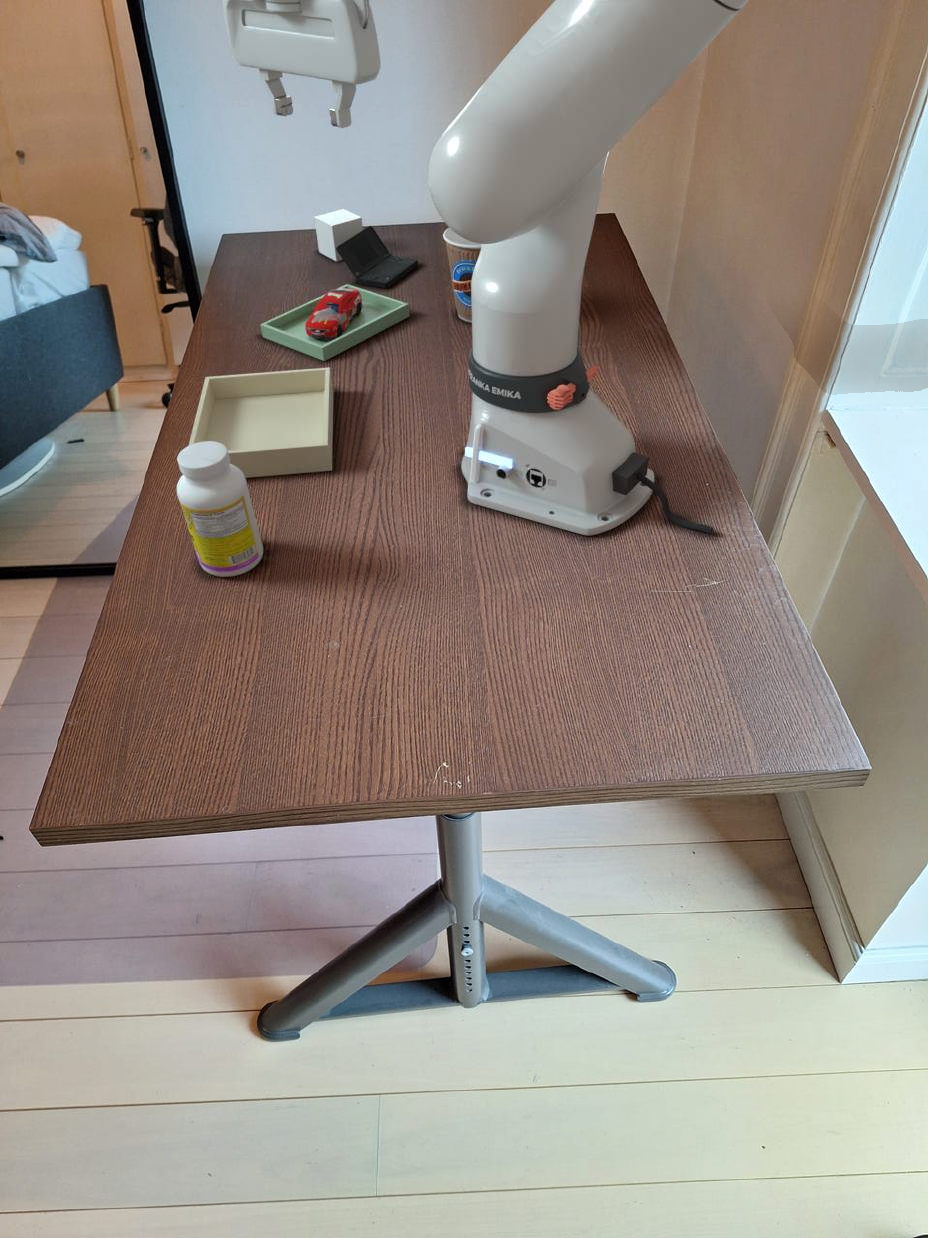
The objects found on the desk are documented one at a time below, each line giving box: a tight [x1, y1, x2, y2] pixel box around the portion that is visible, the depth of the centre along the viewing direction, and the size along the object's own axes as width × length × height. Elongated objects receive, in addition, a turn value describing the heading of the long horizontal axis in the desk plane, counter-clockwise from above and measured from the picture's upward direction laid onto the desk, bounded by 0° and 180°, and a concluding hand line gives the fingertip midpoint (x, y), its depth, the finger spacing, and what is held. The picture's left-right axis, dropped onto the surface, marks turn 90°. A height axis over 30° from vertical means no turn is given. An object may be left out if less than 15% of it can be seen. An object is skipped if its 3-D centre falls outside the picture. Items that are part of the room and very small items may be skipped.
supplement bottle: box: [176, 441, 264, 578], centre depth 84 cm, size 7×7×13 cm
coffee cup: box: [442, 227, 482, 324], centre depth 126 cm, size 10×10×12 cm
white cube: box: [313, 208, 364, 263], centre depth 149 cm, size 6×6×6 cm
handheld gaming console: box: [336, 225, 419, 290], centre depth 142 cm, size 12×7×10 cm
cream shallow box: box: [188, 367, 334, 478], centre depth 105 cm, size 19×16×4 cm
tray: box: [260, 283, 410, 362], centre depth 128 cm, size 13×18×2 cm
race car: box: [305, 287, 363, 339], centre depth 127 cm, size 13×5×4 cm, turn 163°
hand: (312, 120), depth 96 cm, fingers open, 8 cm apart
